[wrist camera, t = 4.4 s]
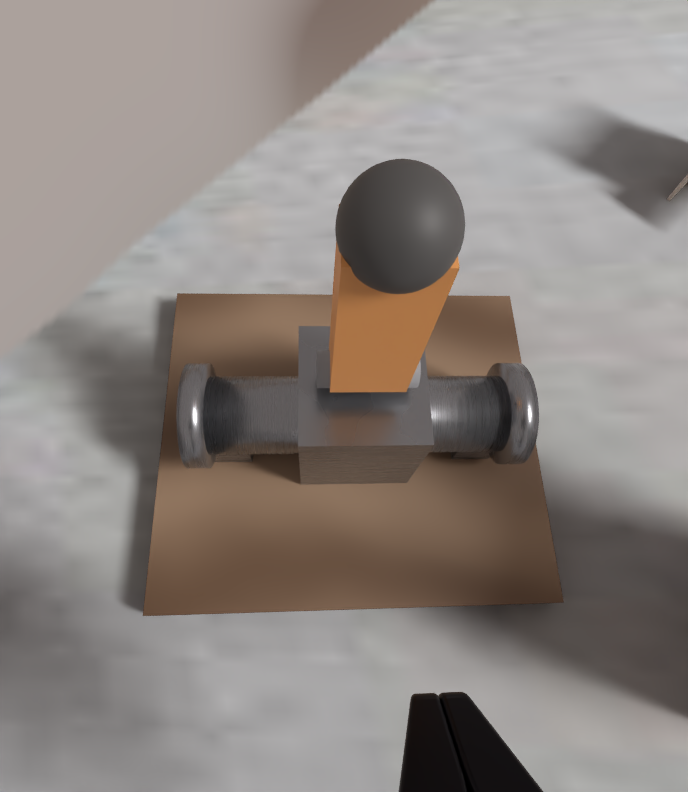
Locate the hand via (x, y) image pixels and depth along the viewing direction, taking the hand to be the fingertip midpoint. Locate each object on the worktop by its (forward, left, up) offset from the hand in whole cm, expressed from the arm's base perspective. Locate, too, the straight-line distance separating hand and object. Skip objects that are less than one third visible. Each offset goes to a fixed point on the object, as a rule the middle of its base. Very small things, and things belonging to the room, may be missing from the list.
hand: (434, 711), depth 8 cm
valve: (+8, +4, -12) cm, 15 cm away
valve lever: (+8, +4, -6) cm, 10 cm away
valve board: (+8, +4, -14) cm, 16 cm away
